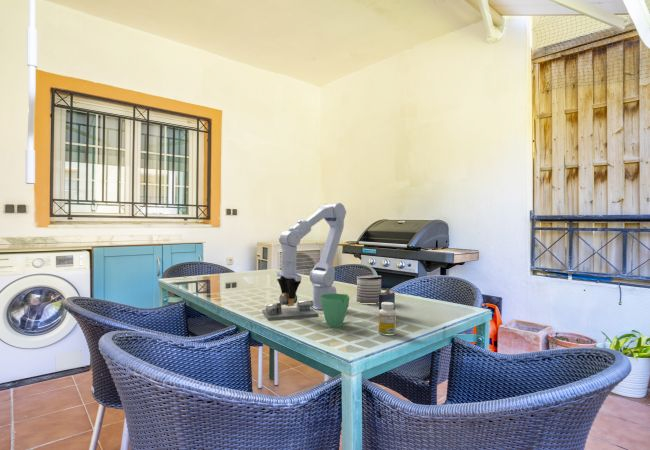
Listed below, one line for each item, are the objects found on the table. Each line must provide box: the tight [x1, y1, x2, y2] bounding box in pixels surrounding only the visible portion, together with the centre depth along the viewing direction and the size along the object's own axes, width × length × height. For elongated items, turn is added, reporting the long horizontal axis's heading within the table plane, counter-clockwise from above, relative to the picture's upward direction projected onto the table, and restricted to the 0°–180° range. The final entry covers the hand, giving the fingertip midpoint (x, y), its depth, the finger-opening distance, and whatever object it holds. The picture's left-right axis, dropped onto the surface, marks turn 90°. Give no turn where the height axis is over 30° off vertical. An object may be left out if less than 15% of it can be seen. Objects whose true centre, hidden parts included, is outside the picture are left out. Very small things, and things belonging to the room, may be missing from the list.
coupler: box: [279, 292, 298, 307], centre depth 138 cm, size 6×4×4 cm
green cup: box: [321, 293, 350, 328], centre depth 125 cm, size 15×10×10 cm
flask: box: [378, 288, 396, 311], centre depth 136 cm, size 9×3×11 cm, turn 138°
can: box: [355, 275, 382, 304], centre depth 161 cm, size 11×11×12 cm
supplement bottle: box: [378, 302, 397, 335], centre depth 115 cm, size 5×5×10 cm
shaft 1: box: [265, 302, 282, 315], centre depth 134 cm, size 6×4×3 cm, turn 145°
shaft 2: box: [296, 300, 313, 311], centre depth 141 cm, size 6×4×3 cm, turn 110°
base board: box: [261, 306, 320, 321], centre depth 137 cm, size 19×12×1 cm, turn 110°
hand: (288, 297), depth 138 cm, fingers closed on coupler, 4 cm apart
